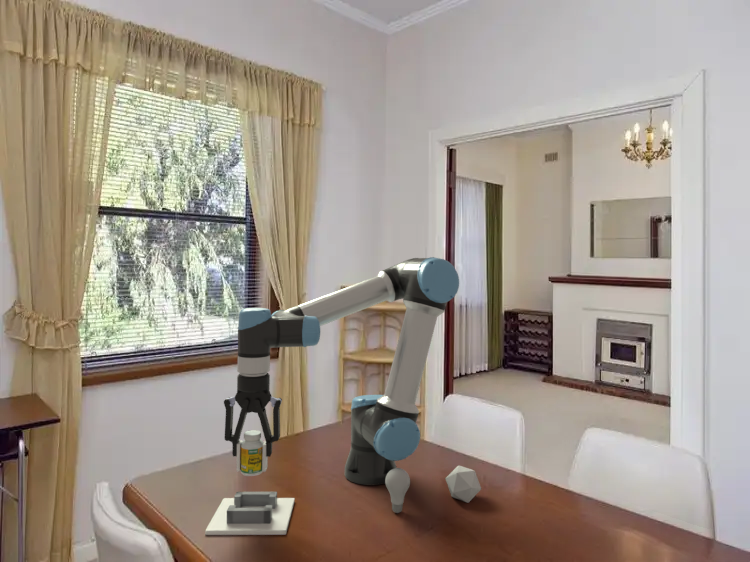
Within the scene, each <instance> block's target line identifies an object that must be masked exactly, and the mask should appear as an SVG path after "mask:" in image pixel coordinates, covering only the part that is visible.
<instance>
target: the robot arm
mask: <svg viewBox="0 0 750 562" xmlns="http://www.w3.org/2000/svg"><path fill="white" fill-rule="evenodd" d="M459 287H460V277H459V273H458V272H457V270H456V268H455V266H454V265H453V264H452V263H451V262H450V261H448V260H446V259H444V258H440V257H434V256H432V257H431V256H430V257H414V258H409V259H406V260H404V261H401V262H399V263H397V264H394V265H391V266H390V267H388V268H384V269H382V270H380V271H379V272H378V273H377V275H376V276H373V277H371V278H368V279H365V280H363V281H361V282H357V283H354V284H351V285H350V286H347V287H345V288H342V289H339V290H336V291H334V292H330V293H328V294H326V295H323V296H320V297H318V298H315V299H312V300H310V301H307V302H304V303H301V304H299V305H295V306H293V307H289V308H288V309H281V310H276V311H274V312H273V313H271V309H270V308H265V307H247V308H242V309H241V310H240V311H239V313H238V323H237V324H238V326H237V369H236V370H237V373H238V375H237V376H236V377H237V378H236V379H237V380H236V381H237V383H236V384H237V386H236V388H237V389H236V393H235V396H231V397H229V396H228V397H226V398H225V400H224V399H223V405H224V407H225V417H224V418H225V420H224V421H225V422H224V423H225V424H224V441H225V442H226V441H227V442H231V443H232V449H231V451H232V452H231V453H232V456H233V457H236V469H235V470H236V472H241V444H242V442H243V441H244V440H242V439H241V440H240V438H241V435H242V432H243V428H244V425H245V422H246V417H247V415H248V414H249V413H250V414H251V413H255V414H257V416H258V418H259V421H260V425H261V429H262V432H263V435H264V436H263V437H264V441H263V457H262V473H266V472H267V469H268V464H269V463H268V461H269V460H268V457H269V458H270V457H271V455H272V453H273V443H274V442H279V439H280V438H281V415H280V414H281V411H280V410H281V405H282V401H283V399H282V398H281V397H275V396H272V393H271V392H270V384H271V383H270V382H271V380H270V373H269V372H270V370H271V349H272V348H276V349H278V348H292V347H293V348H301V347H303V348H306V347H314V346H317V345H318V343H319V342H320V340H321V339H320V338H321V327H322V326H324V325H326V324H329V323H332V322H336V321H337V320H339V319H342V318H346V317H348V316H350V315H353V314H355V313H358V312H360V311H363V310H366V309H368V308H371V307H373V306H376V305H378V304H381V303H383V302H389V303H394V302H395V301H399V300H402V303H403V305H404V306H405V308H406V310H405V313H404V317H403V321H402V325H401V329H400V331H399V332H400V333H399V336H398V341H397V343H396V347H395V352H394V356H393V360H392V363H391V367H390V372H389V375H388V379H387V383H386V386H385V390H384V394H364V395H358V396H355V397H354V398H352V401H351V408H350V410H351V411H350V413H351V414H350V450H349V453H348V456H347V458H346V462H345V463H344V464H345V465H344V476H345V479H347V480H348V481H349V482H352V483H354V484H359V485H364V486H379V485H384V484H385V485H386V483H385V479H386V475H387V474H388V472H389V471H390V470H392V469H394V468H397V464H396V461H397V462H398V461H403V460H406V459H407V458H408V457H409V456H411V455H413V454H414V452H416V450H417V448H418V446H419V445H420V444H419V443H420V441H421V431H420V428H419V425H418V424H417V422H418V421H417V420H418V418H419V414H420V411H419V408H418V407H417V404H416V401H417V398H418V394H419V390H420V387H421V382H422V378H423V374H424V370H425V367H426V361H427V358H428V354H429V351H430V348H431V347H430V346H431V342H432V339H433V336H434V335H433V334H434V330H435V326H436V323H437V319H438V317H439V316H440V315H442V314H443V313H445V312H446V311H445V310H446V308H447V307H446V306H447V304H448V302H449V301H451V300H452V299H453V298H455V296H456V295H457V294H458V291H459ZM236 403H237V405H238V406H239V408H240V409H241V410H240V413H239V417H238V419H237V423H236V427H235V430H234V434H233V425H234V424H233V423H234V406H235V405H236ZM269 403H271V404H270V405H271V407H272V408H273V409H272V424H273V425H272V428H273V429H272V430H273V432H272V431H271V427H270V423H269V419H268V416H267V409H266V406H267V405H268V404H269ZM272 433H273V434H272Z"/></svg>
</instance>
